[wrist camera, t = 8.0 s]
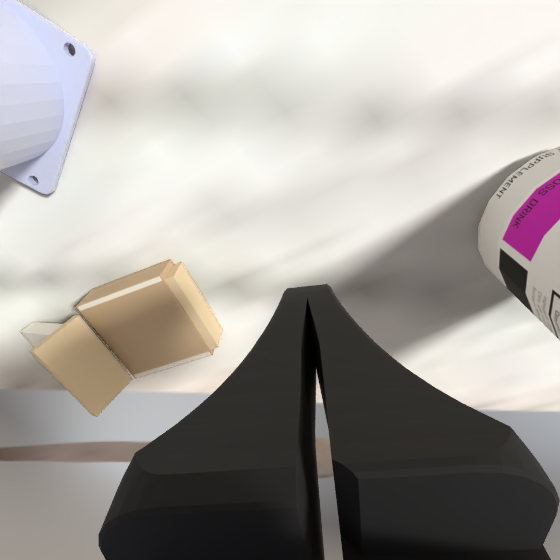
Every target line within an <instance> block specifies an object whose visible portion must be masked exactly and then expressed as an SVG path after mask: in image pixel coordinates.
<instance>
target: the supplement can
mask: <svg viewBox="0 0 560 560" xmlns="http://www.w3.org/2000/svg"><path fill="white" fill-rule="evenodd" d="M478 250H479V252H480V255H481V257H482V259H483V262H484V264H485V266H486V268H487V269H488V270H489V271H490V272H491V273H492V274H493V275H494V276H496V277H497V278H498V279H499V280H500V281H501V282H502V283H503V284H504V285H505V286H506V287H507V288H508V289H509V290H510V291H511V292H512V293H513V294H514V295H515V296H516V297H517V298H518V299H519V300H520V301H521V302H522V303H523V304H524V305H525V306H526V307H527V308H528V309H529V310H530V311H531V312H532V313H533V314H534V315H535V316H536V317H537V318H538V319H539V320H540V321H541V322H542V323H543V324H544V325H545V326H546V327H547V328H548V329H549V330H550V331H551V332H552V333H553V334H554V335H555V336H556V337H557V338H558V339H559V340H560V147H558V148H555V149H552V150H550V151H547V152H545V153H542V154H539V155H537V156H535V157H534V158H533V159H531V160H530V161H528V162H527V163H526V164H524V165H523V166H522V167H520V168H519V169H517V170H516V171H515V172H513V173H512V174H511V175H509V176H508V177H507V179H506V180H505V181H504V182H503V184H502V185H501V186H500V187H499V188H498V190H497V191H496V192H495V193H494V195H493V196H492V197H491V198H490V200H489V201H488V204H487V206H486V209H485V211H484V213H483V216H482V218H481V221H480V223H479V226H478Z"/></svg>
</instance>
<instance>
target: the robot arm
mask: <svg viewBox="0 0 560 560" xmlns="http://www.w3.org/2000/svg"><path fill="white" fill-rule="evenodd" d="M69 44H72V45H73V46H74V48H75V55H74V56H72V55H71V54H70V53H69V50H68V46H69ZM94 64H95V56H94V53H93V52H92V50H91V49H90V48H89V47H88V46H87V45H85V44H84V43H82V42H81V41H79V40H78V39H76V38H75V37H73V36H71V35H70V34H68V33H67V32H65V31H64V30H62V29H61V28H59V27H58V26H56V25H55V24H53V23H52V22H50V21H48V20H47V19H45V18H44V17H42V16H41V15H39V14H38V13H36V12H35V11H33V10H32V9H30V8H29V7H27V6H25V5H24V4H22V3H21V2H19V1H18V0H0V171H1V172H2V173H4V174H6V175H8V176H10V177H12V178H14V179H16V180H18V181H19V182H21V183H23V184H25V185H27V186H29V187H31V188H33V189H35V190H36V191H38V192H40V193H43V194H50V193H52V192H54V191H55V189H56V186H57V183H58V180H59V177H60V173H61V170H62V167H63V164H64V161H65V157H66V154H67V151H68V148H69V144H70V141H71V138H72V135H73V132H74V128H75V125H76V122H77V119H78V116H79V112H80V109H81V106H82V103H83V100H84V96H85V93H86V90H87V87H88V83H89V80H90V77H91V74H92V71H93V67H94ZM33 176H35V177H36V178H37V179H38V183H36V182H35V181H34V179H33ZM316 369H317V374H318V379H319V384H320V389H321V394H322V399H323V404H324V409H325V414H326V419H327V424H328V428H329V436H330V446H331V455H332V465H333V473H334V481H335V490H336V499H337V506H338V507H337V508H338V515H339V524H340V533H341V542H342V551H343V560H551V559H550V557H549V555H548V553H547V552H546V550H545V548H544V546H543V543H544V541H545V539H546V536H547V534H548V532H549V530H550V528H551V526H552V523H553V521H554V519H555V517H556V514H557V510H558V505H559V497H558V494H557V492H556V489H555V487H554V486H553V484H552V482H551V481H550V479H549V478H548V476H547V474H546V473H545V471H544V470H543V468H542V467H541V465H540V464H539V462H538V461H537V460H536V458H535V457H534V456H533V455H532V453H531V452H530V451H529V449H528V448H527V447H526V445H525V444H524V443H523V442H522V441H521V439H520V438H519V437H518V436H517V434H516V433H515V432H514V431H513V429H512V428H511V427H510V426H508V425H505V424H503V423H501V422H499V421H497V420H495V419H493V418H491V417H489V416H487V415H485V414H483V413H481V412H479V411H477V410H475V409H473V408H471V407H469V406H467V405H465V404H463V403H461V402H459V401H457V400H456V399H454V398H452V397H450V396H449V395H447V394H445V393H443V392H442V391H440V390H438V389H436V388H435V387H433V386H432V385H430V384H429V383H427V382H426V381H424V380H423V379H421V378H420V377H418V376H417V375H415V374H414V373H412V372H411V371H409V370H408V369H406V368H405V367H404V366H403V365H401V364H400V363H399V362H397V361H396V360H395V359H394V358H392V357H391V356H390V355H389V354H388V353H386V352H385V351H384V350H383V349H382V348H381V347H380V346H378V345H377V344H376V343H375V342H374V341H373V340H372V339H371V338H370V337H369V336H368V335H367V334H366V333H365V332H364V331H363V330H362V329H361V328H360V327H359V325H358V324H357V323H356V322H355V321H354V320H353V318H352V317H351V316H350V315H349V314H348V313H347V311H346V310H345V309H344V307H343V306H342V305H341V303H340V302H339V300H338V299H337V298H336V296H335V294H334V293H333V291H332V289H331V287H330V286H329V285H327V284H324V285H315V286H306V287H297V288H288V289H286V290H285V292H284V294H283V296H282V299H281V301H280V303H279V305H278V307H277V309H276V311H275V313H274V315H273V317H272V318H271V320H270V322H269V324H268V325H267V327H266V329H265V330H264V332H263V333H262V335H261V336H260V338H259V339H258V341H257V342H256V344H255V345H254V347H253V348H252V350H251V351H250V352H249V354H248V355H247V356H246V357H245V359H244V360H243V361H242V362H241V364H240V365H239V366H238V367H237V368H236V370H235V371H234V372H233V373H232V374H231V375H230V376H229V377H228V378H227V379H226V380H225V381H224V382H223V384H222V385H221V386H220V387H219V388H218V389H217V390H216V391H215V392H214V393H213V394H212V395H210V396H209V397H208V398H207V399H206V400H205V401H204V402H203V403H201V404H200V405H199V406H198V407H197V408H196V409H195V410H193V411H192V412H191V413H190V414H189V415H187V416H186V417H185V418H183V419H182V420H181V421H180V422H179V423H177V424H176V425H175V426H173V427H172V428H170V429H169V430H168V431H166V432H165V433H163V434H162V435H160V436H159V437H158V438H156V439H155V440H153V441H152V442H151V443H149V444H148V445H146V446H145V447H144V448H142V449H141V450H139V451H138V452H136V453H135V455H134V457H133V459H132V461H131V463H130V465H129V466H128V468H127V470H126V472H125V474H124V476H123V478H122V480H121V483H120V485H119V487H118V489H117V492H116V494H115V496H114V499H113V501H112V504H111V506H110V509H109V511H108V513H107V516H106V519H105V521H104V523H103V526H102V528H101V531H100V533H99V547H100V550H101V552H102V554H103V555H104V557H105V559H106V560H324V548H323V536H322V524H321V512H320V499H319V487H318V474H317V461H316V448H315V406H316Z"/></svg>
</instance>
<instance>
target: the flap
mask: <svg viewBox="0 0 560 560" xmlns="http://www.w3.org/2000/svg"><path fill="white" fill-rule="evenodd" d="M20 333H21V334H22V335H23V336H24V337H25V338H26V339H27V340H28V341H29V342H30V343H31V344H32V345H33V346H34V347H33V348H32V349H31V350H29V352H30V353H31V354H32V355H33V356H34V357H35V358H36V359H37V360H38V361H39V362H40V363H41V364H42V365H43V366H44V367H45V368H46V369H47V370H48V371H49V372H50V373H51V374H52V375H53V376H54V377H55V378H56V379H57V380H58V381H59V382H60V383H61V384H62V385H63V386H64V387H65V388H66V389H67V390H68V391H69V392H70V393H71V394H72V395H73V396H74V397H75V398H76V399H77V400H78V401H79V402H80V403H81V404H82V405H83V406H84V407H85V408H86V409H87V410H88V412H89V413H90V414H91V415H93V416H96V417H97V416H98V415H99V414H100V413H101V412H102V410H104V409H105V408H106V407H107V406H108V404H109V403H110V402H111V401H112V400H113V399H114V398H115V397H116V396H117V395H118V394H119V393H120V392H121V391H122V390H123V389H124V387H125V386H126V385H127V384H128V383H129V382H130V381H131V380H132V377H131V376H130V375H129V374H128V373H127V371H126V370H125V369H124V368H123V367H122V366H121V364H120V363H119V362H118V361H117V360H116V358H115V357H114V356H113V355H112V354H111V352H110V351H109V350H108V349H107V348H106V346H105V345H104V344H103V343H102V342H101V340H100V339H99V338H98V337H97V336H96V335H95V333H94V332H93V331H92V330H91V329H90V327H89V326H88V325H87V324H86V323H85V321H84V320H83V319H82V318H81V317H80V315H74V316H73V317H71V318H70V319H69V320H68V321H66V322H65V323H64V324H58V323H41V322H33V323H31V324H30V325H28V326H27V327H26V328H24V329H23V330H22V331H20Z"/></svg>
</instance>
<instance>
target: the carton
mask: <svg viewBox="0 0 560 560" xmlns="http://www.w3.org/2000/svg"><path fill="white" fill-rule="evenodd" d="M76 308H77V309H78V310H79V311H80V312H81V314H82V315H83V316H84V317H85V318H86V320H87V321H88V322H89V323H90V324H91V326H92V327H93V328H94V329H95V330H96V332H97V333H98V334H99V335H100V336H101V338H102V339H103V340H104V341H105V342H106V344H107V345H108V346H109V347H110V348H111V350H112V351H113V352H114V353H115V354H116V356H117V357H118V358H119V359H120V360H121V362H122V363H123V364H124V365H125V366H126V368H127V369H128V370H129V371H130V372H131V374H132V375H133V376H134V377H135V378H138V377H142V376H145V375H148V374H151V373H155V372H158V371H161V370H164V369H168V368H171V367H174V366H177V365H181V364H184V363H187V362H190V361H194V360H197V359H200V358H203V357H207V356H210V355H213V352H214V348H216V347H218V346H219V342H220V338H221V335H222V331H223V329H222V327H221V325H220V324H219V322H218V321H217V319H216V317H215V316H214V314H213V312H212V311H211V309H210V307H209V306H208V304H207V302H206V301H205V299H204V298H203V296H202V294H201V293H200V291H199V289H198V288H197V286H196V284H195V283H194V281H193V280H192V278H191V276H190V275H189V273H188V271H187V270H186V268H185V266H184V265H183V263H182V262H181V263H178V264H175V265H174V264H173V262H172V261H171V259H170V260H167V261H164V262H162V263H159V264H156V265H154V266H151V267H149V268H146V269H143V270H141V271H138V272H136V273H133V274H130V275H128V276H125V277H122V278H120V279H117V280H115V281H112V282H109V283H107V284H104V285H102V286H99V287H96V288H94V289H91V291H90V292H89V293H88V294H87V295H86V296H85V297H84V298H83V299H82V300H81V301H80V302H79V304H78V305H77V306H76Z"/></svg>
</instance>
